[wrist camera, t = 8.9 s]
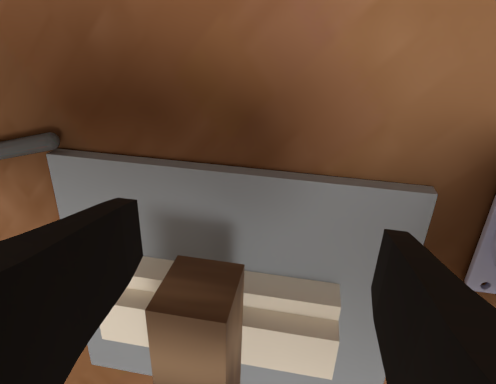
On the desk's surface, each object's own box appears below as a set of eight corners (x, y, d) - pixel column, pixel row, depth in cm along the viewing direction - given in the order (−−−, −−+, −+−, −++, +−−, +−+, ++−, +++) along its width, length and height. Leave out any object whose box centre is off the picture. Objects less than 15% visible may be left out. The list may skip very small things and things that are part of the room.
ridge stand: (432, 186, 20) (460, 230, 16) (371, 404, 28) (380, 470, 24) (56, 148, 23) (1, 177, 19) (98, 354, 31) (65, 404, 27)
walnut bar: (239, 416, 24) (224, 486, 20) (186, 405, 24) (163, 472, 21) (244, 264, 19) (226, 323, 15) (177, 255, 19) (144, 310, 16)
